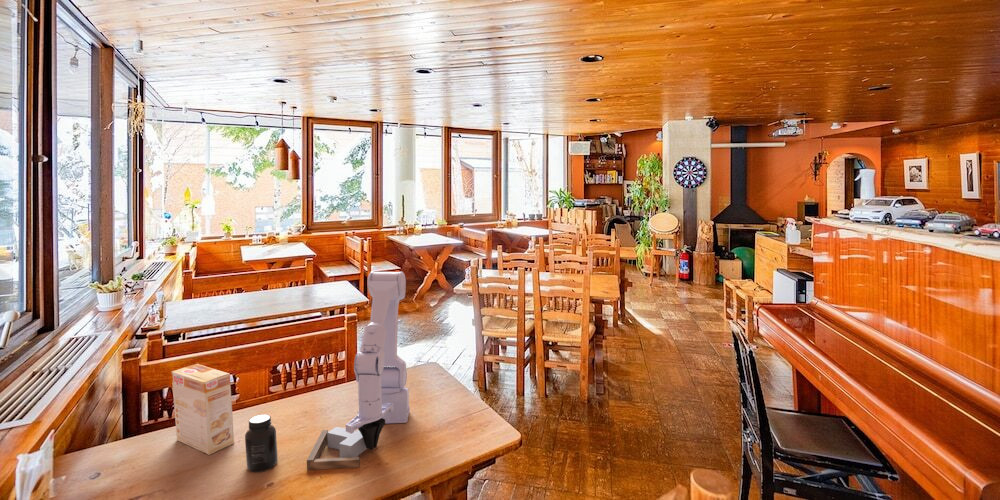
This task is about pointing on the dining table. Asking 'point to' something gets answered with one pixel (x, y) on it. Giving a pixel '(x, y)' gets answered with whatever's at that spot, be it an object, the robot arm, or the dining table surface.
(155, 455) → the dining table surface
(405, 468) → the dining table surface
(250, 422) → the supplement bottle
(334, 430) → the tee block
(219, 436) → the coffeecake box
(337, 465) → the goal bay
